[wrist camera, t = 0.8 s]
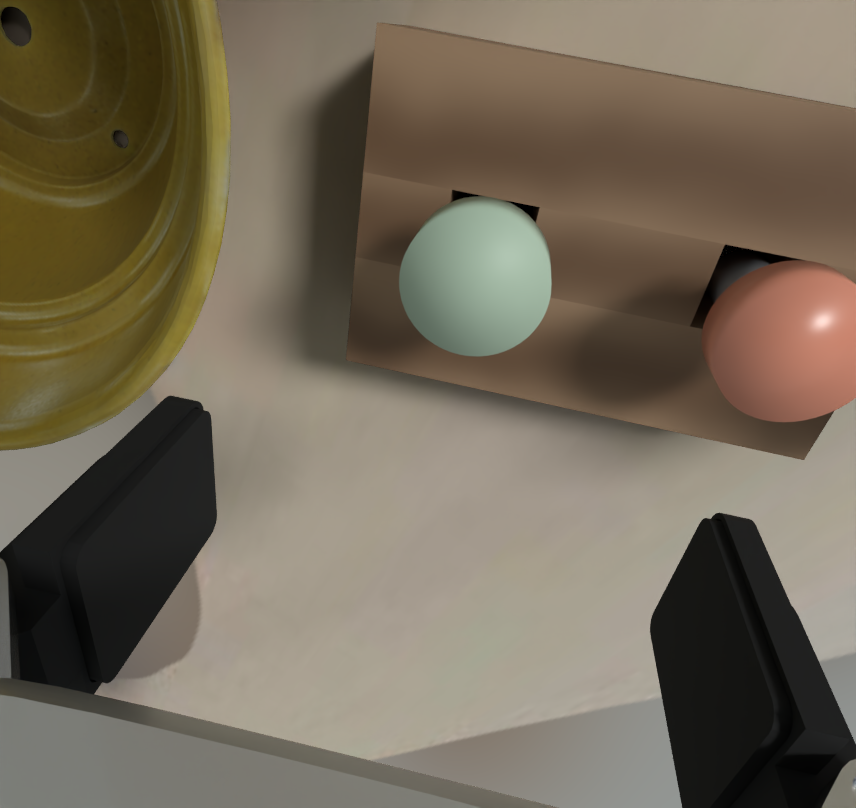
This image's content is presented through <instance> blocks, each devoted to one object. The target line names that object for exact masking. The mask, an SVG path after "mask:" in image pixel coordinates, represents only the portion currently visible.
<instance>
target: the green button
mask: <svg viewBox="0 0 856 808" xmlns="http://www.w3.org/2000/svg"><path fill="white" fill-rule="evenodd" d="M551 285H552V283H551V260H550V253H549V248H548V245H547V242H546V239H545V237H544V235H543V233H542V231H541V230H540V228H539V227H538V225H537V224H536V223H535V221H534V220H533V219H532V218H531V217H530V216H529V215H528V214H526V213H525V212H524V211H523V210H521V209H520V208H518V207H517V206H515V205H513V204H511V203H509V202H506V201H504V200H501V199H497V198H493V197H485V196H474V197H467V198H462V199H459V200H455V201H453V202H451V203H448V204H446V205H445V206H443V207H441V208H440V209H438V210H437V211H436V212H435V213H433V214H432V215H431V216H430V217H429V218H428V219H427V220H426V221H425V223H424V224H423V225H422V227H421V228H420V230H419V231H418V233H417V234H416V236H415V237H414V239H413V240H412V242H411V244H410V245H409V247H408V249H407V251H406V253H405V255H404V258H403V261H402V264H401V268H400V275H399V289H400V295H401V300H402V303H403V306H404V309H405V311H406V313H407V315H408V317H409V319H410V320H411V322H412V323H413V325H414V326H415V327H416V329H417V330H418V331H419V332H420V333H421V334H422V335H423V336H424V337H425V338H426V339H428V340H429V341H430V342H432V343H433V344H435V345H437V346H438V347H440V348H442V349H444V350H447V351H449V352H452V353H456V354H459V355H465V356H489V355H494V354H498V353H501V352H504V351H507V350H509V349H511V348H513V347H515V346H516V345H518V344H520V343H521V342H523V341H524V340H525V339H526V338H527V337H529V336H530V335H531V334H532V332H533V331H534V330H535V329H536V328H537V327H538V325H539V324H540V322H541V321H542V319H543V317H544V315H545V313H546V310H547V308H548V305H549V301H550V296H551Z"/></svg>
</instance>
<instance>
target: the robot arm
mask: <svg viewBox="0 0 856 808" xmlns="http://www.w3.org/2000/svg"><path fill="white" fill-rule="evenodd" d="M216 519H217V509H216V493H215V476H214V459H213V443H212V426H211V415H210V413H209V412H208V411H204V410H203V406H202V404H201V403H200V402H198V401H193V400H189V399H184V398H179V397H175V396H168V397H166V398H165V399H164V400H163V401H162V402H161V403H160V404H158V405H157V406H156V407H155V408H154V409H153V410H152V411H151V412H150V413H149V414H148V415H147V416H146V417H145V418H144V419H143V420H142V421H141V422H139V423H138V424H137V425H136V426H135V427H134V428H133V429H132V430H131V431H130V432H129V433H128V434H127V435H126V436H125V437H124V438H123V439H122V440H120V441H119V442H118V443H117V444H116V445H115V446H114V447H113V448H112V449H111V450H110V451H109V452H108V453H107V454H106V455H104V456H103V457H101V458H100V459H99V460H97V462H95V463H94V464H93V465H92V466H91V467H90V468H89V469H88V470H87V471H86V472H85V473H84V474H83V475H82V476H80V477H79V478H78V479H77V480H76V481H75V482H74V483H73V484H72V485H71V486H70V487H69V488H68V489H67V490H66V491H65V492H63V493H62V494H61V495H60V496H59V497H58V498H57V499H56V500H55V501H54V502H53V503H52V504H51V505H50V506H49V507H48V508H47V509H46V510H44V511H43V512H42V513H41V514H40V515H39V516H38V517H37V518H36V519H35V520H34V521H33V522H32V523H31V524H30V525H29V526H27V527H26V528H25V529H24V530H23V531H22V532H21V533H20V534H19V535H18V536H17V537H16V538H15V539H14V540H13V541H11V542H10V543H9V544H8V545H7V546H6V547H5V548H4V549H3V550H2V551H1V552H0V808H557V807H553V806H549V805H545V804H541V803H537V802H533V801H529V800H526V799H522V798H518V797H514V796H510V795H506V794H502V793H498V792H494V791H490V790H486V789H482V788H478V787H474V786H470V785H466V784H462V783H458V782H454V781H450V780H446V779H442V778H438V777H434V776H430V775H426V774H422V773H418V772H414V771H410V770H406V769H402V768H397V767H393V766H390V765H386V764H382V763H377V762H374V761H370V760H365V759H361V758H357V757H353V756H349V755H345V754H341V753H337V752H333V751H329V750H325V749H321V748H317V747H313V746H309V745H305V744H301V743H297V742H293V741H288V740H284V739H280V738H276V737H272V736H268V735H264V734H259V733H255V732H251V731H247V730H243V729H239V728H235V727H230V726H226V725H222V724H218V723H214V722H210V721H206V720H202V719H197V718H193V717H189V716H185V715H181V714H177V713H173V712H168V711H164V710H160V709H156V708H152V707H148V706H143V705H139V704H134V703H130V702H125V701H121V700H116V699H112V698H107V697H103V696H98V695H94V693H95V692H96V690H97V689H98V688H99V686H100V685H101V683H102V682H104V683H109V682H111V681H112V680H113V679H114V678H115V677H116V675H117V674H118V672H119V671H120V669H121V668H122V666H123V665H124V663H125V662H126V661H127V659H128V658H129V656H130V655H131V653H132V652H133V650H134V648H135V647H136V646H137V644H138V643H139V641H140V640H141V638H142V637H143V635H144V634H145V632H146V631H147V629H148V628H149V626H150V625H151V623H152V622H153V620H154V619H155V617H156V616H157V614H158V612H159V611H160V610H161V608H162V607H163V605H164V604H165V602H166V601H167V599H168V598H169V596H170V595H171V593H172V592H173V590H174V589H175V587H176V586H177V584H178V583H179V582H180V580H181V579H182V577H183V576H184V574H185V573H186V571H187V570H188V568H189V566H190V565H191V564H192V562H193V561H194V559H195V558H196V556H197V555H198V553H199V552H200V550H201V549H202V547H203V546H204V544H205V543H206V541H207V540H208V538H209V537H210V535H211V534H212V532H213V530H214V527H215V524H216ZM650 633H651V640H652V645H653V650H654V656H655V661H656V667H657V672H658V678H659V683H660V689H661V694H662V699H663V705H664V710H665V716H666V721H667V727H668V732H669V738H670V743H671V749H672V754H673V759H674V765H675V770H676V776H677V781H678V787H679V792H680V797H681V803H682V808H856V744H855V742H854V739H853V737H852V735H851V733H850V730H849V728H848V726H847V724H846V722H845V719H844V717H843V715H842V713H841V711H840V708H839V706H838V704H837V701H836V699H835V697H834V695H833V692H832V691H831V688H830V686H829V684H828V682H827V679H826V677H825V675H824V672H823V670H822V668H821V666H820V663H819V661H818V659H817V657H816V654H815V652H814V650H813V648H812V645H811V643H810V641H809V639H808V636H807V634H806V632H805V630H804V628H803V625H802V623H801V621H800V619H799V616H798V614H797V613H796V611H795V610H794V608H793V607H792V606H791V604H790V602H789V599H788V597H787V595H786V593H785V590H784V588H783V586H782V584H781V581H780V579H779V577H778V575H777V572H776V570H775V568H774V565H773V563H772V561H771V559H770V556H769V554H768V552H767V550H766V547H765V545H764V543H763V541H762V538H761V536H760V534H759V532H758V529H757V527H756V525H755V523H754V522H753V521H752V520H750V519H746V518H741V517H737V516H732V515H727V514H723V513H716V514H715V515H714V516H713V517H712V518H711V519H708V518H704V519H703V520H702V521H701V522H700V524H699V526H698V528H697V530H696V532H695V534H694V536H693V537H692V539H691V541H690V543H689V545H688V547H687V549H686V551H685V553H684V555H683V557H682V559H681V561H680V563H679V564H678V566H677V568H676V570H675V572H674V574H673V576H672V578H671V580H670V582H669V584H668V586H667V588H666V590H665V591H664V593H663V595H662V597H661V599H660V601H659V603H658V605H657V607H656V609H655V611H654V613H653V615H652V619H651V624H650Z"/></svg>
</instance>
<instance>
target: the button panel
mask: <svg viewBox="0 0 856 808" xmlns="http://www.w3.org/2000/svg"><path fill="white" fill-rule="evenodd" d="M463 192H466V193H471V194H476V195H481V196H486V197H493V198H497V199H501V200H506V201H511V202H516V203H521V204H526V205H531V206H533V210H532V215H531V218H532V219H533V220H534V221H535V223H536V224H537V225H538V227H539V228H540V230H541V231H542V233H543V235H544V237H545V239H546V242H547V245H548V248H549V253H550V260H551V283H552V285H551V296H550V301H549V305H548V308H547V310H546V313H545V315H544V317H543V319H542V321H541V322H540V324H539V325H538V327H537V328H536V329H535V330H534V331H533V332H532V334H531V335H530V336H529V337H527V338H526V339H525V340H524V341H523V342H521V343H520V344H518V345H516V346H515V347H513V348H511V349H509V350H507V351H504V352H501V353H498V354H494V355H489V356H465V355H459V354H456V353H452V352H449V351H447V350H444V349H442V348H440V347H438V346H437V345H435V344H433V343H432V342H430V341H429V340H428V339H426V338H425V337H424V336H423V335H422V334H421V333H420V332H419V331H418V330H417V329H416V327H415V326H414V325H413V323H412V322H411V320H410V319H409V317H408V315H407V313H406V311H405V309H404V306H403V303H402V300H401V295H400V289H399V275H400V268H401V264H402V261H403V258H404V255H405V253H406V251H407V249H408V247H409V245H410V244H411V242H412V240H413V239H414V237H415V236H416V234H417V233H418V231H419V230H420V228H421V227H422V225H423V224H424V223H425V221H426V220H427V219H428V218H429V217H430V216H431V215H432V214H433V213H435V212H436V211H437V210H438V209H440V208H441V207H443V206H445V205H446V204H448V203H451V202H453V201H455V200H459V199H461V198H462V193H463ZM725 244H726V245H731V246H736V247H741V248H746V249H751V250H756V253H759V254H760V255H762V256H763V257H764V258H765V259H766V260H767V261H768V262H769V263H770V264H773V263H778V262H783V261H792V260H805V261H813V262H818V263H821V264H825V265H827V266H830V267H832V268H834V269H836V270H837V271H839V272H841V273H842V274H843V275H845V276H846V277H847V278H849V279H850V280H851V281H852V282H854V283H855V284H856V108H851V107H845V106H840V105H834V104H829V103H824V102H818V101H813V100H807V99H802V98H796V97H791V96H786V95H780V94H775V93H769V92H764V91H759V90H753V89H748V88H742V87H737V86H732V85H726V84H721V83H715V82H710V81H705V80H699V79H694V78H688V77H683V76H678V75H672V74H667V73H661V72H656V71H651V70H645V69H640V68H634V67H629V66H624V65H618V64H613V63H607V62H602V61H597V60H591V59H586V58H580V57H575V56H570V55H564V54H559V53H553V52H548V51H543V50H537V49H532V48H526V47H521V46H516V45H510V44H505V43H499V42H494V41H489V40H483V39H478V38H472V37H467V36H462V35H456V34H451V33H445V32H440V31H435V30H429V29H424V28H418V27H413V26H407V25H396V24H386V23H377V28H376V39H375V50H374V61H373V72H372V83H371V93H370V104H369V115H368V126H367V137H366V148H365V158H364V169H363V180H362V191H361V202H360V213H359V223H358V234H357V245H356V256H355V267H354V278H353V288H352V299H351V310H350V321H349V332H348V343H347V353H346V360H348V361H353V362H357V363H362V364H366V365H371V366H375V367H380V368H385V369H389V370H394V371H398V372H403V373H408V374H412V375H417V376H421V377H426V378H430V379H435V380H440V381H444V382H449V383H453V384H458V385H462V386H467V387H472V388H476V389H481V390H485V391H490V392H495V393H499V394H504V395H508V396H513V397H517V398H522V399H527V400H531V401H536V402H540V403H545V404H550V405H554V406H559V407H563V408H568V409H572V410H577V411H582V412H586V413H591V414H595V415H600V416H604V417H609V418H614V419H618V420H623V421H627V422H632V423H637V424H641V425H646V426H650V427H655V428H659V429H664V430H669V431H673V432H678V433H682V434H687V435H691V436H696V437H701V438H705V439H710V440H714V441H719V442H724V443H728V444H733V445H737V446H742V447H746V448H751V449H756V450H760V451H765V452H769V453H774V454H779V455H783V456H788V457H792V458H797V459H801V460H804V459H805V457H806V456H807V454H808V452H809V451H810V449H811V448H812V446H813V444H814V443H815V441H816V440H817V438H818V436H819V435H820V433H821V431H822V430H823V428H824V427H825V425H826V423H827V422H828V420H829V419H830V417H831V415H832V414H833V412H834V411H835V410H834V411H832V412H830V413H828V414H825V415H822V416H819V417H816V418H812V419H808V420H803V421H796V422H772V421H766V420H761V419H758V418H754V417H752V416H749V415H747V414H745V413H743V412H741V411H740V410H738V409H737V408H735V407H734V406H733V405H732V404H731V403H730V402H729V401H728V400H727V399H726V398H725V397H724V395H723V394H722V392H721V391H720V389H719V387H718V385H717V383H716V381H715V379H714V377H713V375H712V373H711V371H710V369H709V367H708V365H707V363H706V360H705V358H704V355H703V351H702V343H701V340H702V330H703V326H704V322H705V320H706V317H707V315H708V313H709V311H710V309H711V307H712V306H713V304H714V303H713V302H712V300H711V299H710V297H709V295H708V294H707V291H706V288H707V285H708V283H709V281H710V278H711V276H712V274H713V271H714V269H715V267H716V264H717V262H718V260H719V257H720V255H721V253H722V250H723V248H724V246H725Z"/></svg>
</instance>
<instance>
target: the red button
mask: <svg viewBox="0 0 856 808" xmlns="http://www.w3.org/2000/svg"><path fill="white" fill-rule="evenodd" d="M706 291H707V294H708V295H709V297H710V299H711V300H712V302H713V303H714V304H713V306H712V307H711V309H710V311H709V313H708V315H707V317H706V320H705V322H704V326H703V330H702V340H701V343H702V351H703V355H704V358H705V360H706V363H707V365H708V367H709V369H710V371H711V373H712V375H713V377H714V379H715V381H716V383H717V385H718V387H719V389H720V391H721V392H722V394H723V395H724V397H725V398H726V399H727V400H728V401H729V402H730V403H731V404H732V405H733V406H734V407H735V408H737V409H738V410H740V411H741V412H743V413H745V414H747V415H749V416H752V417H754V418H758V419H761V420H766V421H772V422H796V421H803V420H808V419H812V418H816V417H819V416H822V415H825V414H828V413H830V412H832V411H834V410H837V409H839V408H840V407H842V406H844V405H846V404H847V403H849V402H850V401H852V400H853V399H854V398H856V284H855V283H854V282H852V281H851V280H850V279H849V278H847V277H846V276H845V275H843V274H842V273H841V272H839V271H837V270H836V269H834V268H832V267H830V266H827V265H825V264H821V263H818V262H813V261H805V260H792V261H783V262H778V263H773V264H770V263H769V262H768V261H767V260H766V259H765V258H764V257H763V256H762V255H760V254H759V253H756V252H754V251H749V250H739V251H734V252H731V253H728V254H726V255H724V256H723V257H721V258H720V259H719V260H718V262H717V264H716V267H715V269H714V271H713V274H712V276H711V278H710V281H709V283H708V285H707V288H706Z"/></svg>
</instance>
